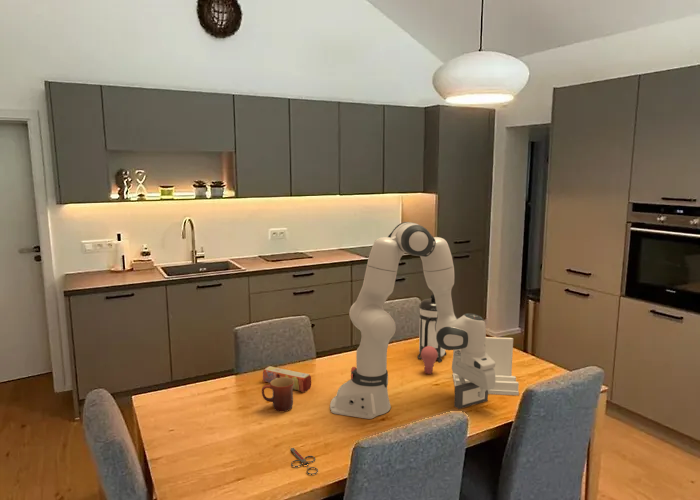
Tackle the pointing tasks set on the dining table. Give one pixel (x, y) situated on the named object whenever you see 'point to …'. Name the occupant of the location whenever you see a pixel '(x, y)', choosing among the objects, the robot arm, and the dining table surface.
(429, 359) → the light bulb
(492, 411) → the dining table surface
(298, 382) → the snack package
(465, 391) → the picture frame
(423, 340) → the coffee press
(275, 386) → the mug
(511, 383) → the picture ledge
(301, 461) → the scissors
